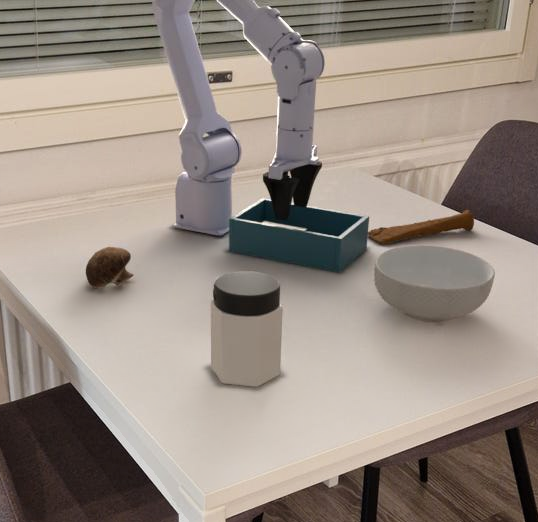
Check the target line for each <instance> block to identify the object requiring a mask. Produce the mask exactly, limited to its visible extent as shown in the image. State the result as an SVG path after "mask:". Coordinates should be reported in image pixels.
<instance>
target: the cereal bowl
mask: <svg viewBox="0 0 538 522" xmlns="http://www.w3.org/2000/svg"><path fill="white" fill-rule="evenodd" d="M495 274H496V272H495V268H494V267H493V265H491V264H490V263H489V262H488V261H487V260H485V259H483V258H481V257H480V256H477V255H475V254H473V253H470V252H467V251H464V250H460V249H457V248H452V247H445V246H439V245H427V244H425V245H424V244H420V245H419V244H417V245H403V246H398V247H394V248H390V249H387V250H386V251H383V252H382V253H380V254H379V255H378V256H377V258H376V260H375V262H374V273H373V275H374V276H373V277H374V279H373V281H374V285H375V288H376V290H377V293H378V295H379V296H380V297H381V299H382V300H383V301H384V302H385V303H387V305H389V306H390V307H392V308H393V309H395V310H397V311H399V312H400V313H403V314H404V315H405V316H407V317H409V318H411V319H415V320H418V321H422V322H423V321H424V322H431V323H433V322H436V323H437V322H445V321H448V320H451V319H456V318H460V317H463V316H466V315H469V314H471V313H473V312H475V311H477V309H479V308H481V306H483V304H484V303H485V302H486V301H487V299H488V298H489V296H490V293H491V291H492V288H493V284H494V280H495V276H496V275H495Z"/></svg>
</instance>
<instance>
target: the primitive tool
mask: <svg viewBox="0 0 538 522" xmlns="http://www.w3.org/2000/svg"><path fill="white" fill-rule="evenodd" d="M474 225H475V218H474V215H473V213H472V212H471V210H469V209H466V210H464V211H463V212H461V213H457V214H454V215H452V216H444V217H440V218H434V219H427V220H424V221H420V222H414V223H409V224H402V225H395V226H390V227H383V226H381V227H379V228H373V229H371V230H368V237H370V238H371V239H372V240H374V241H375V242H377V243H379V244H381V245H383V244H384V245H385V244H391V243H396V242H399V241H403V240H407V239H408V240H409V239H412V238H417V237H423V236H427V235H434V234H440V233H444V232H451V231H456V230H461V229H463V230H466V231H472V230H473V229H474V227H475V226H474Z"/></svg>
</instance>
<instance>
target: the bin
mask: <svg viewBox="0 0 538 522" xmlns="http://www.w3.org/2000/svg"><path fill="white" fill-rule="evenodd" d="M263 221H267V222H273V223H278V224H284V225H289V226H295V227H301V228H306V229H307V231H304V230H298V229H293V228H287V227H282V226H276V225H271V224H265V223H262V222H263ZM369 224H370V216H369V215H364V214H358V213H353V212H346V211H340V210H335V209H330V208H325V207H324V208H323V207H318V206H313V205H307V207H300V206H294V202H292V203H291V209H290V214H289V218H288V220H286V221H285V220H280V219H275V216H274V212H273V207H272V202H271V198H265V197H261V199H259V200H257V201H256V202H254V203H252V204H251V205H249V206H247V207H246V208H244V209H243V210H241V211H239V212H237V213H236V214H235V215H232V217H231V218H230V219H229V231H228V251H229V252H232V253H235V254H241V255H247V256H252V257H253V256H254V257H258V258H261V259H262V258H263V259H267V260H272V261H278V262H281V263H288V264H293V265H298V266H303V267H309V268H313V269H319V270H324V271H329V272H334V273H340V272H341V271H342V270H343V269H345V268H346V267H347V266H348V265H349V264H351V262H353V261H354V260H355V259H356V258H358V257H359V256H360V254H361V253H363V252H364V251H365V250H366V249H367V247H368V237H369V235H368V232H369V226H370V225H369Z"/></svg>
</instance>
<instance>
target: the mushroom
mask: <svg viewBox="0 0 538 522" xmlns="http://www.w3.org/2000/svg"><path fill="white" fill-rule="evenodd" d="M131 255H132V254H131V253H130V251H129V250H127V249H125V248H123V247H115V246H106V247H103V248H101V249H99V250H97V251H95V252H94V253H93V255H92V256H91V257H90V258H89V260H88V262H87V264H86V267H85V276H86V280H87V282H88V285H90V287H91V288H94V289H102V288H104V287H105V286H107V285H109V284H114V285H115V286H120V285H122V284H124V283H125V282H127V281H129V280H130V279H132V278H133V277H134V274H133V273H131V272H130V271H128V270H127V269H126V267H127V265H128V264H129V263H130V261H131V259H132V257H131Z"/></svg>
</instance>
